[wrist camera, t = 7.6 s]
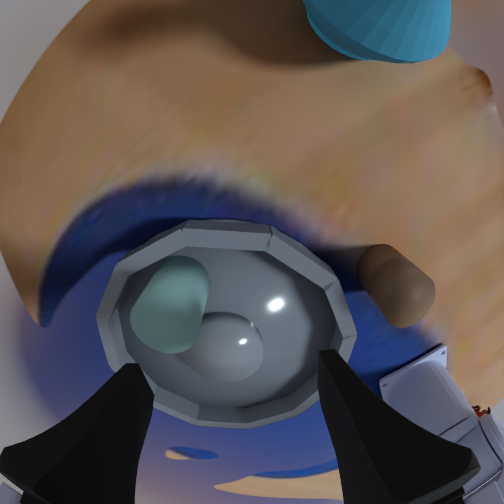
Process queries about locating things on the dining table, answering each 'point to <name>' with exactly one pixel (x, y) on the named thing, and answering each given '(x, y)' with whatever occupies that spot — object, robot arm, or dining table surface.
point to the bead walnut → (395, 285)
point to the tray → (234, 324)
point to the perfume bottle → (382, 28)
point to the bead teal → (172, 305)
